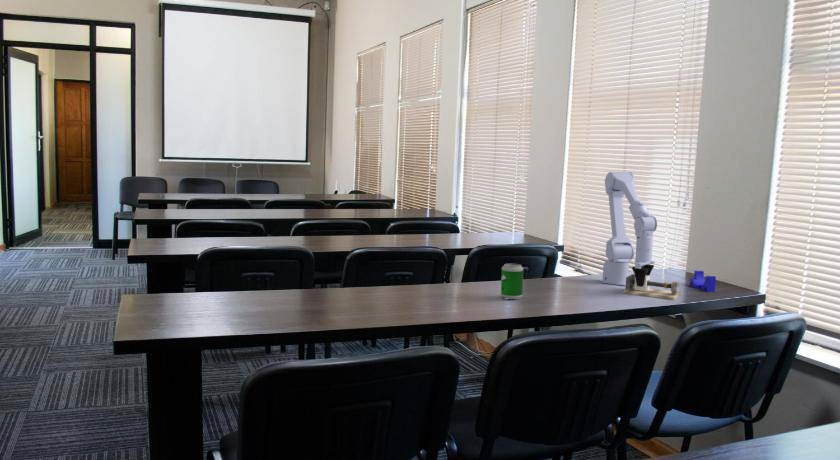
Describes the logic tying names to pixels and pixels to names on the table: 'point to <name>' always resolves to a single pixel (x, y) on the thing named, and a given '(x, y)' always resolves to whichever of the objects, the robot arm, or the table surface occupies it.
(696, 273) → the blue stepped block
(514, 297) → the soda can
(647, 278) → the cord end block
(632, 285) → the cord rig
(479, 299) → the table surface
